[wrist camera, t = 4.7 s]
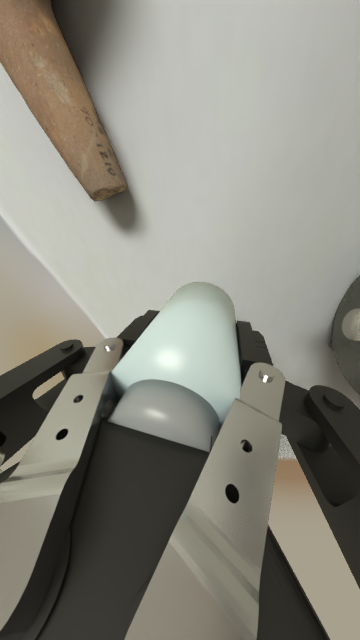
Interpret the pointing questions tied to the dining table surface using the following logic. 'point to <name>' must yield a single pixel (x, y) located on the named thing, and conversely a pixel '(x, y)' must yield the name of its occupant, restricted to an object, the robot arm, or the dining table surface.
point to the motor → (348, 335)
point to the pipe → (57, 94)
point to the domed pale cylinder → (182, 369)
